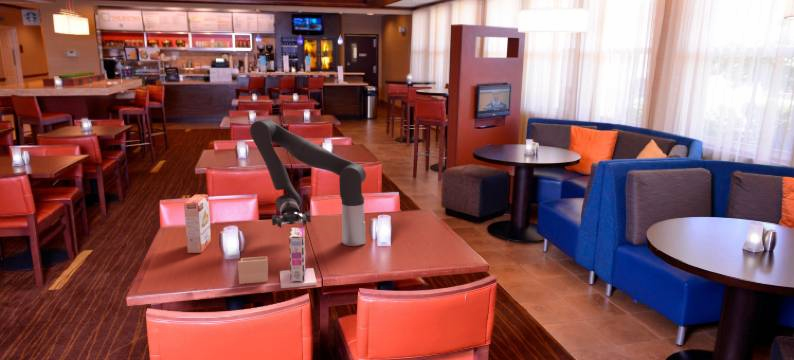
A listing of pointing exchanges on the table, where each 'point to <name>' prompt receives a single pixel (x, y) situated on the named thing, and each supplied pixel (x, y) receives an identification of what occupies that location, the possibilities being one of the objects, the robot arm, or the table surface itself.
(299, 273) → the candy bar box
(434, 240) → the table surface
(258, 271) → the kraft carton
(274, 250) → the table surface
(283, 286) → the ceramic tile
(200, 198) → the cracker box
